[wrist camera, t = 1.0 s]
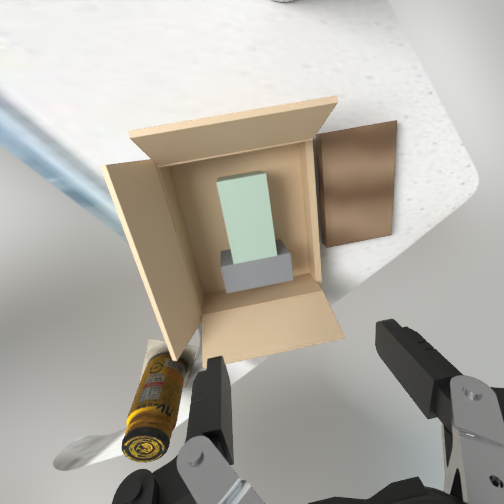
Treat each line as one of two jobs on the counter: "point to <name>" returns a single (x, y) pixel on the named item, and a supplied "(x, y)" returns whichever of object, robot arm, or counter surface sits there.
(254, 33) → the counter surface
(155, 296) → the carton
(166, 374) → the condiment
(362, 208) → the board
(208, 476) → the robot arm
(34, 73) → the counter surface
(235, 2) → the counter surface
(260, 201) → the box
